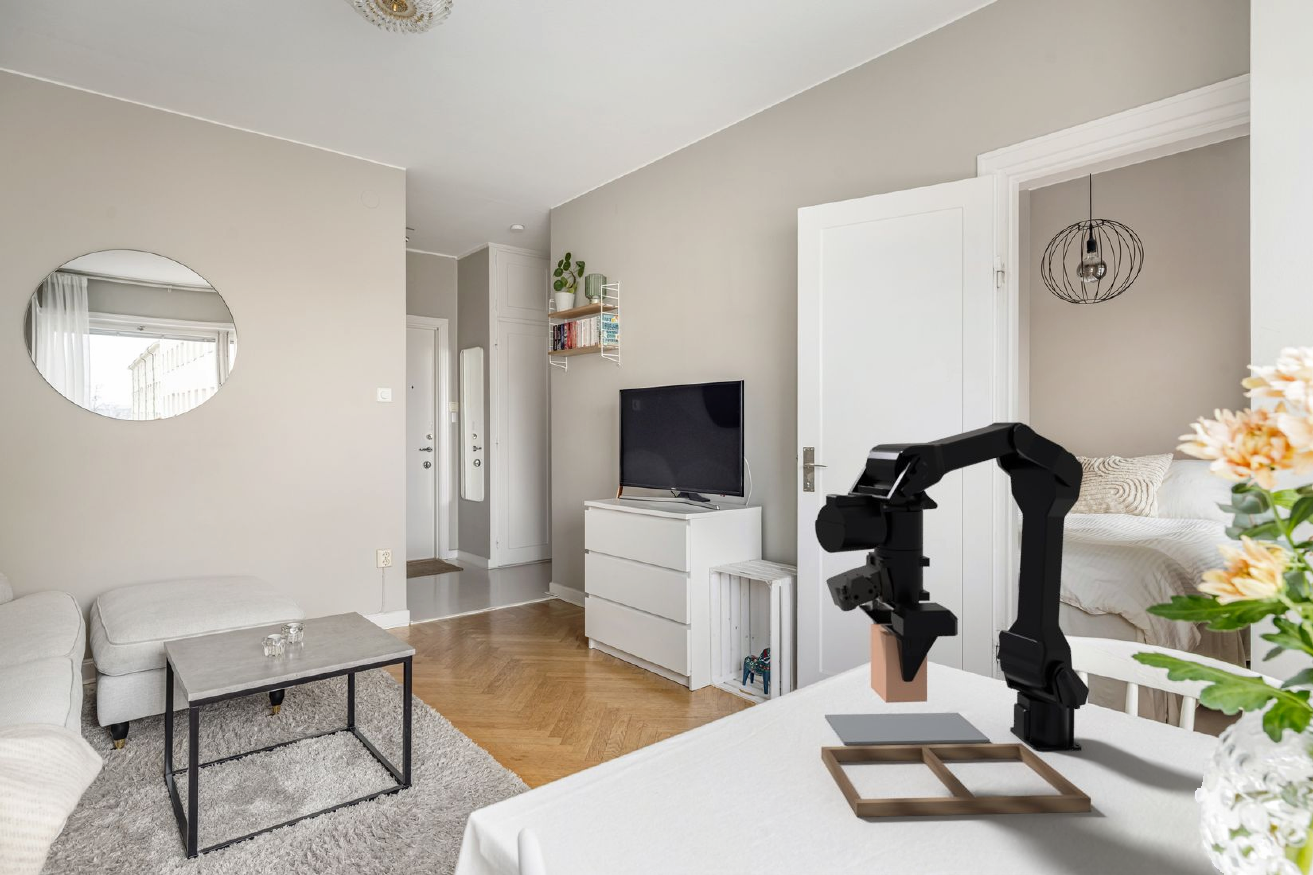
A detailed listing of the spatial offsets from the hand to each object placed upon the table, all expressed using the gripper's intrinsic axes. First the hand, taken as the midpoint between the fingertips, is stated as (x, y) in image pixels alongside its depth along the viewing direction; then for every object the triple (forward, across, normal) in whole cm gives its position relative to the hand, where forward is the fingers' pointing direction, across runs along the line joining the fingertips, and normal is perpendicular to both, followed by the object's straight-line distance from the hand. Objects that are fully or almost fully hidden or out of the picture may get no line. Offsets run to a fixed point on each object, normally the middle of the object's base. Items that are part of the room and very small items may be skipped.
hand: (898, 673), depth 86 cm
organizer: (+12, +3, +5) cm, 14 cm away
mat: (+12, -12, +6) cm, 19 cm away
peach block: (+2, 0, 0) cm, 2 cm away
